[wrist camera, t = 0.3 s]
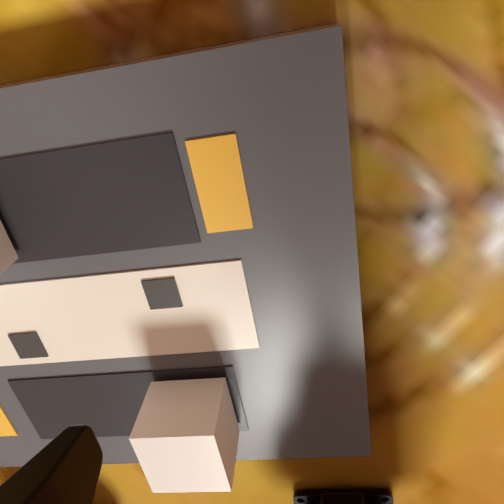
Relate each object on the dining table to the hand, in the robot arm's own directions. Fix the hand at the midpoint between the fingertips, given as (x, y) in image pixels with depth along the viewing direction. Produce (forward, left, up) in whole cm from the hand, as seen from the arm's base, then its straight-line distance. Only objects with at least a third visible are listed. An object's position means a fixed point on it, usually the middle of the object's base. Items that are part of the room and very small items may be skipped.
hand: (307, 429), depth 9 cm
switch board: (-5, +12, -13) cm, 18 cm away
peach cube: (-11, +7, -11) cm, 17 cm away
